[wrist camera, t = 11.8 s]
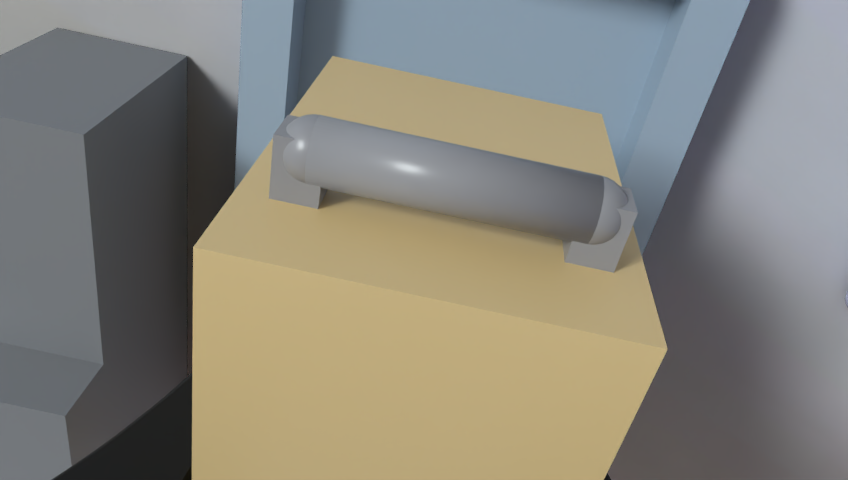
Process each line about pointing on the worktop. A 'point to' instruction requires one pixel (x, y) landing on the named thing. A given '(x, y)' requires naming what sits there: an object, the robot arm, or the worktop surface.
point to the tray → (508, 65)
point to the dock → (88, 244)
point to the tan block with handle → (421, 292)
